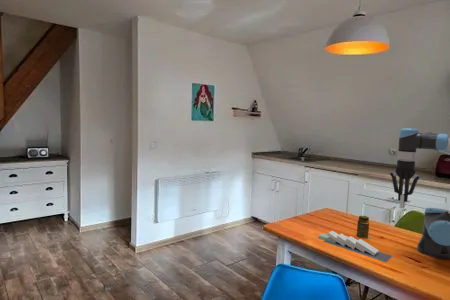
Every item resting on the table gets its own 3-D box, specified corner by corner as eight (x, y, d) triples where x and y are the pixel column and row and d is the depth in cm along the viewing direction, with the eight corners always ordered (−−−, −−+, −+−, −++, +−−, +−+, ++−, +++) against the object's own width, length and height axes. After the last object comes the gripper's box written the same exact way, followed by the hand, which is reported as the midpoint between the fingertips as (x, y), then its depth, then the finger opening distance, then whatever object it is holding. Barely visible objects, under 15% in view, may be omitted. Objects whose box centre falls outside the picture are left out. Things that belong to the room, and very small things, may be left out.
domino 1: (339, 238, 168) (322, 233, 175) (335, 240, 165) (318, 235, 172) (339, 241, 168) (322, 235, 175) (335, 243, 165) (318, 238, 172)
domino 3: (358, 244, 161) (341, 233, 167) (354, 246, 157) (337, 235, 164) (357, 246, 161) (340, 235, 168) (353, 249, 158) (336, 238, 164)
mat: (392, 256, 151) (392, 255, 151) (385, 262, 144) (385, 262, 144) (331, 237, 174) (331, 236, 174) (322, 242, 167) (322, 241, 167)
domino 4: (368, 247, 157) (350, 236, 164) (364, 250, 154) (346, 238, 160) (367, 249, 158) (349, 238, 164) (363, 252, 154) (345, 240, 161)
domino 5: (378, 250, 154) (360, 238, 160) (375, 253, 150) (356, 241, 157) (377, 253, 154) (359, 241, 161) (373, 256, 151) (355, 243, 157)
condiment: (371, 238, 175) (373, 217, 174) (362, 240, 171) (364, 220, 170) (359, 233, 182) (361, 214, 180) (350, 236, 177) (352, 216, 176)
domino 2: (349, 241, 164) (332, 230, 171) (345, 243, 161) (328, 232, 167) (347, 243, 165) (331, 233, 171) (343, 246, 161) (327, 235, 168)
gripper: (423, 161, 147) (419, 209, 149) (394, 158, 156) (390, 203, 158) (419, 162, 141) (414, 212, 144) (389, 159, 151) (385, 206, 153)
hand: (401, 207), depth 151 cm, fingers closed
